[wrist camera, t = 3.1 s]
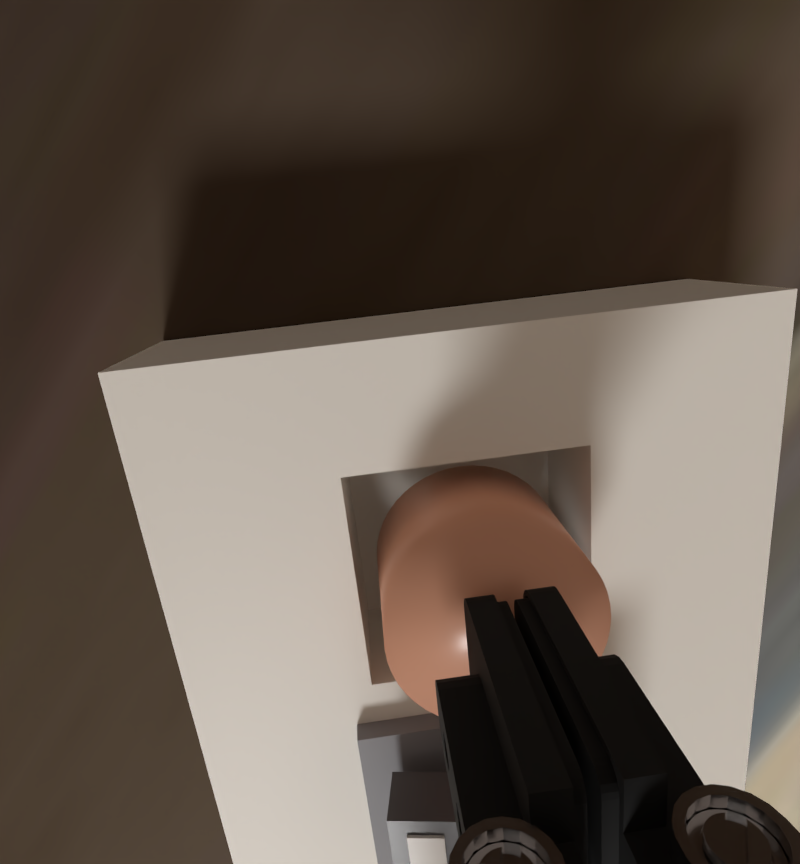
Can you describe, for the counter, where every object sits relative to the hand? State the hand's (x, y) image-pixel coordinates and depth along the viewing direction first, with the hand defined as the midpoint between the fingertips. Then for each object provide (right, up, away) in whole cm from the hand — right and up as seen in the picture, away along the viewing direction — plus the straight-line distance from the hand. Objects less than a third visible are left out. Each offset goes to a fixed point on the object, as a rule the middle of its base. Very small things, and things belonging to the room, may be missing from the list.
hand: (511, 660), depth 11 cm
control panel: (0, -6, +9) cm, 11 cm away
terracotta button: (0, +1, +3) cm, 4 cm away
